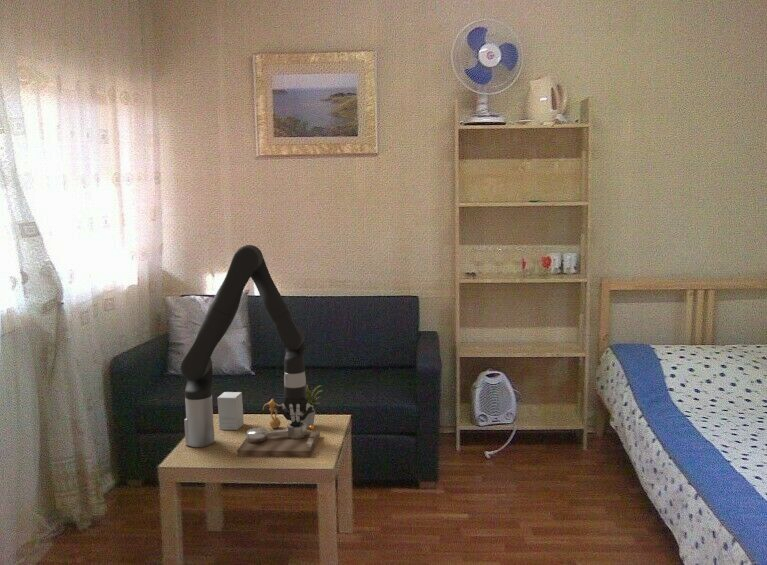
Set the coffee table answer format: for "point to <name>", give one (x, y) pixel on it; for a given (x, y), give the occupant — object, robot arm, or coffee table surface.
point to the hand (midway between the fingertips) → (296, 431)
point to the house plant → (311, 415)
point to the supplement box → (230, 410)
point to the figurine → (274, 421)
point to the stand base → (281, 446)
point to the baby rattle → (277, 433)
